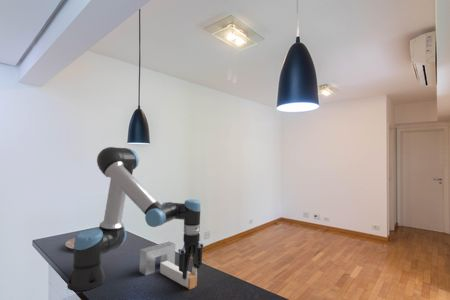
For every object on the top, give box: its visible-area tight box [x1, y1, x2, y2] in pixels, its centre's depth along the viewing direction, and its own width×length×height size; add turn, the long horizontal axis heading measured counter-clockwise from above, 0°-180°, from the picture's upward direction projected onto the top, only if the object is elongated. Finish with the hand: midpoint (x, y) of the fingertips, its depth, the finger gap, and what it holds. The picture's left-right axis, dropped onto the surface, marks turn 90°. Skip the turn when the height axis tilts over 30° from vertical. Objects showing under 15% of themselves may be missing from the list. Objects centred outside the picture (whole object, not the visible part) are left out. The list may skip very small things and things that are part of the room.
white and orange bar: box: [159, 261, 198, 290], centre depth 121 cm, size 24×4×5 cm, turn 48°
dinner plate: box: [64, 237, 75, 250], centre depth 164 cm, size 28×27×3 cm
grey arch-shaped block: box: [138, 241, 176, 276], centre depth 133 cm, size 6×18×12 cm, turn 138°
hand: (190, 283), depth 114 cm, fingers open, 4 cm apart
